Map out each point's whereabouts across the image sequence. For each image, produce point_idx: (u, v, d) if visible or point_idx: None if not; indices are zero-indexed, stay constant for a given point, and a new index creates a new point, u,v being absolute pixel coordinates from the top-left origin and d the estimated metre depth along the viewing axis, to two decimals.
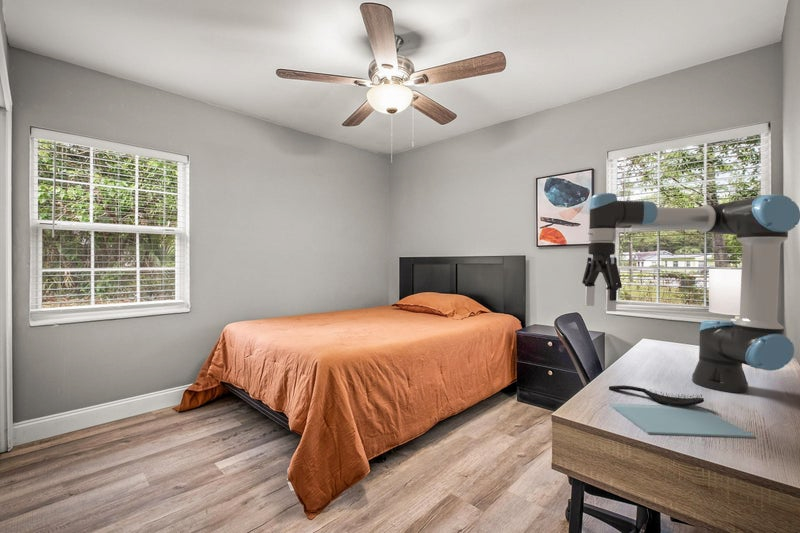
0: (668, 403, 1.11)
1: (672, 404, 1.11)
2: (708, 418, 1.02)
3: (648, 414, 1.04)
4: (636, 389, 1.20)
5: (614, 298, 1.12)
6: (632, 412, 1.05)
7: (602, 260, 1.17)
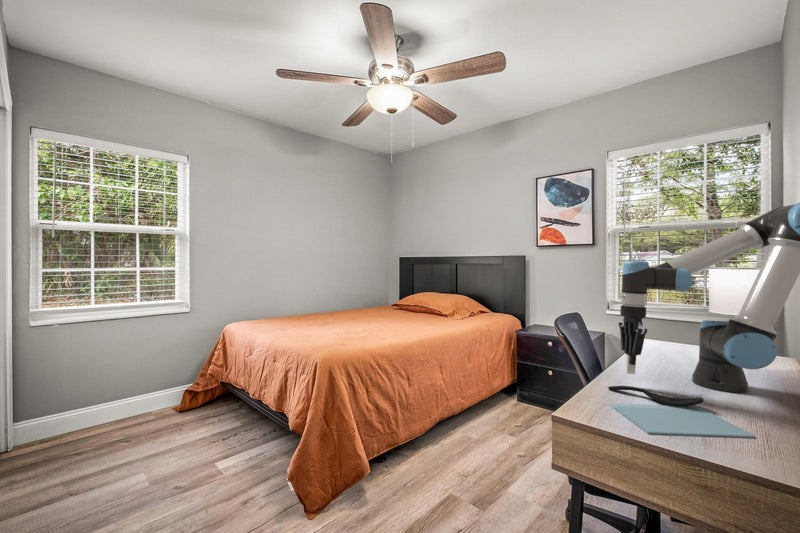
0: (668, 403, 1.11)
1: (672, 404, 1.11)
2: (708, 418, 1.02)
3: (648, 414, 1.04)
4: (636, 389, 1.20)
5: (634, 363, 1.28)
6: (632, 412, 1.05)
7: (634, 323, 1.26)
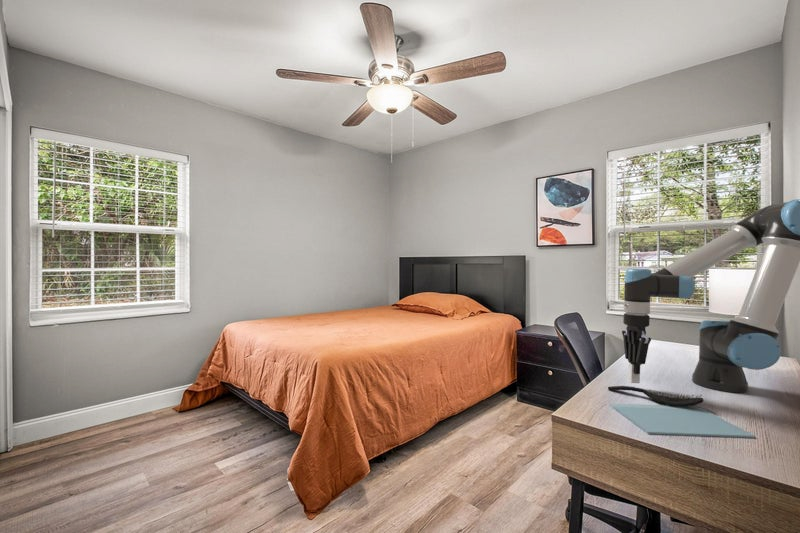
0: (668, 403, 1.11)
1: (672, 404, 1.10)
2: (708, 418, 1.02)
3: (648, 414, 1.04)
4: (635, 389, 1.19)
5: (638, 372, 1.26)
6: (632, 412, 1.05)
7: (637, 332, 1.24)
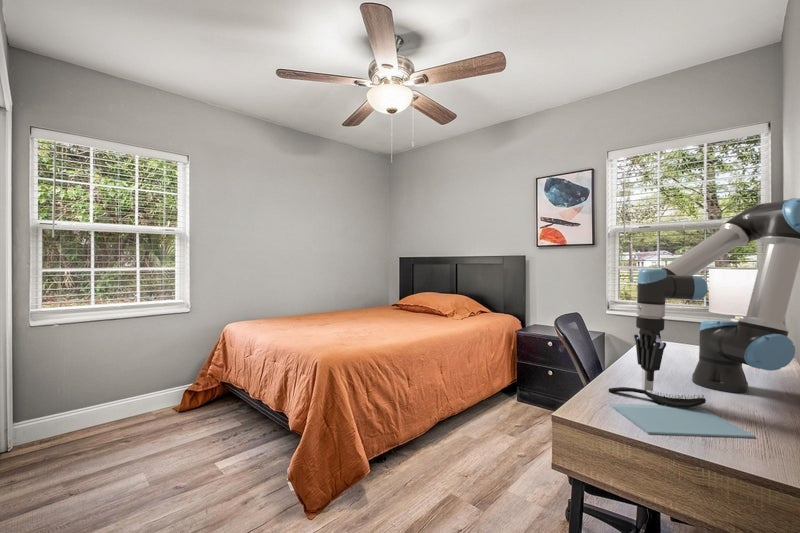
0: (671, 404, 1.10)
1: (675, 405, 1.09)
2: (708, 418, 1.02)
3: (648, 414, 1.04)
4: (637, 391, 1.18)
5: (651, 379, 1.18)
6: (632, 412, 1.05)
7: (651, 336, 1.17)
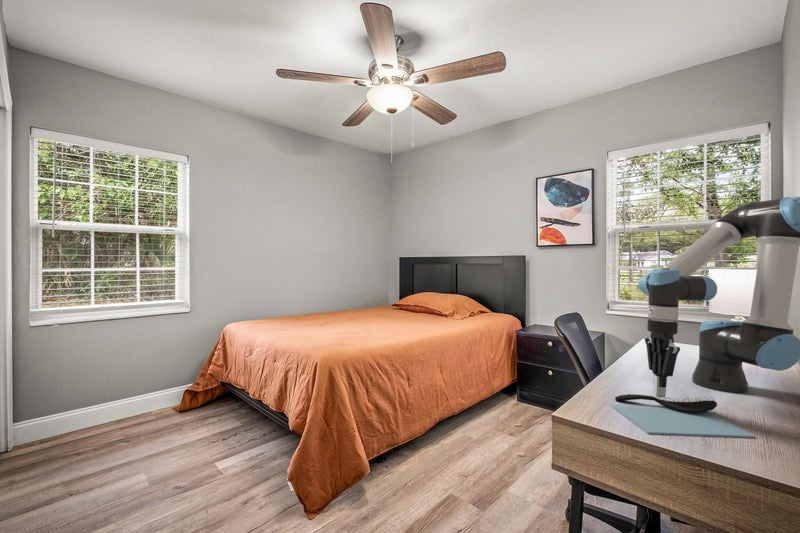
0: (686, 411, 1.05)
1: (690, 411, 1.05)
2: (708, 418, 1.02)
3: (648, 414, 1.04)
4: (646, 398, 1.12)
5: (664, 385, 1.12)
6: (632, 412, 1.05)
7: (664, 340, 1.11)
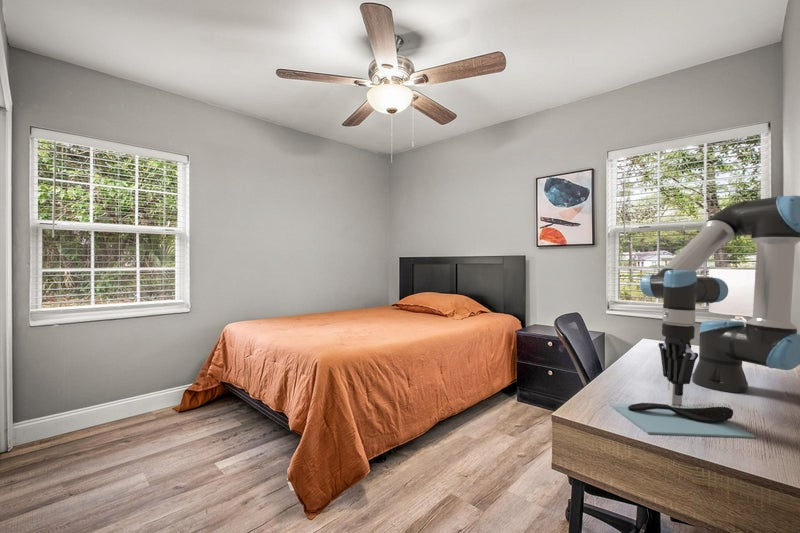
0: (705, 421, 0.99)
1: (709, 421, 0.99)
2: None
3: (648, 414, 1.04)
4: (662, 407, 1.04)
5: (680, 393, 1.06)
6: (632, 412, 1.05)
7: (680, 346, 1.04)
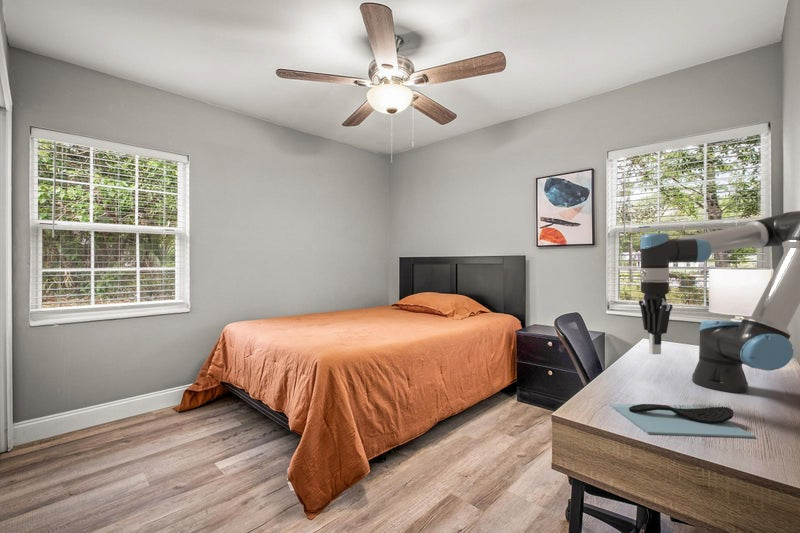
0: (706, 421, 0.99)
1: (711, 422, 0.98)
2: None
3: (648, 414, 1.04)
4: (663, 408, 1.03)
5: (659, 342, 1.19)
6: (632, 412, 1.05)
7: (657, 300, 1.18)
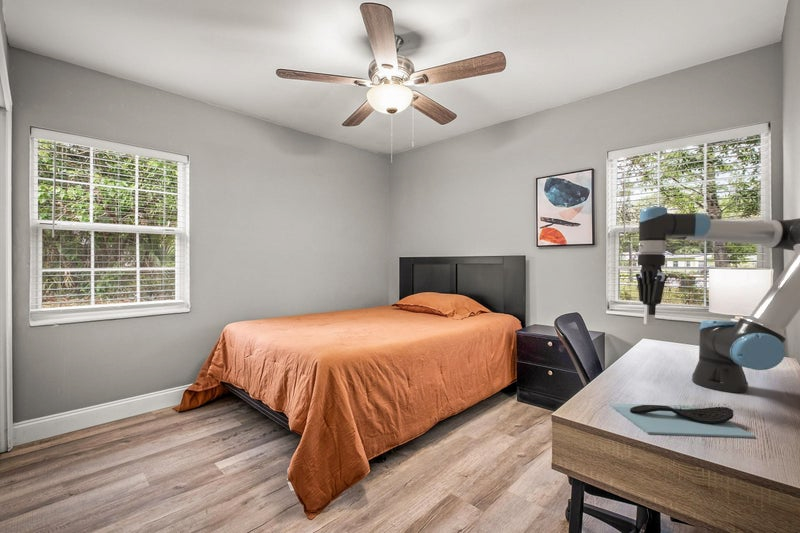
0: (707, 422, 0.98)
1: (711, 422, 0.98)
2: None
3: (648, 414, 1.04)
4: (664, 409, 1.03)
5: (653, 313, 1.23)
6: None
7: (653, 271, 1.22)
